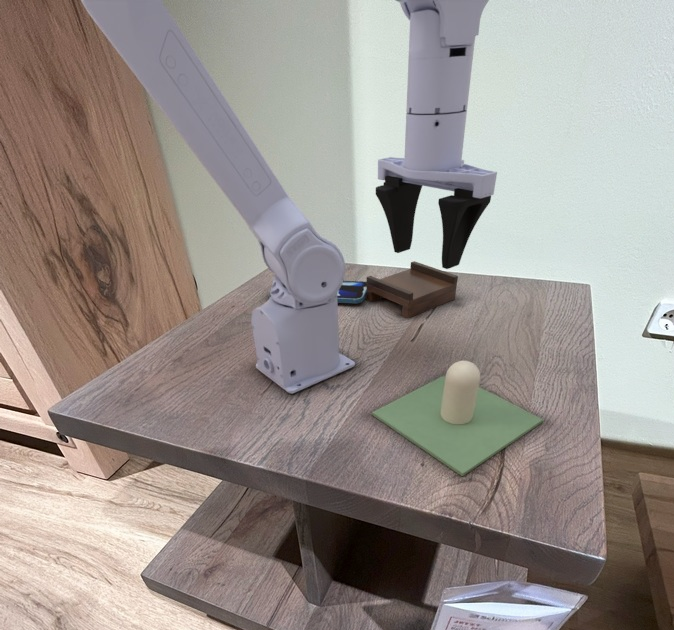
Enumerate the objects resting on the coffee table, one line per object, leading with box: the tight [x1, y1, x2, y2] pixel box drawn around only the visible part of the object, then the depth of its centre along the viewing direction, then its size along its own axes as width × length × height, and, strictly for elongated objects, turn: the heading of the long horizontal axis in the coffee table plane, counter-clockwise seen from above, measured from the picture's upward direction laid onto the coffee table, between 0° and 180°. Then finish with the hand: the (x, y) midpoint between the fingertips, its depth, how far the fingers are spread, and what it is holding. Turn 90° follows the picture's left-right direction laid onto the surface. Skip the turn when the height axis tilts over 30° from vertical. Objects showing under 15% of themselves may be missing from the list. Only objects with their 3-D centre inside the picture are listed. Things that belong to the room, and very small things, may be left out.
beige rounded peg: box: [441, 360, 481, 425], centre depth 44 cm, size 3×3×6 cm
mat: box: [371, 374, 544, 477], centre depth 46 cm, size 12×12×1 cm
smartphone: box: [268, 279, 367, 305], centre depth 71 cm, size 7×1×15 cm
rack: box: [365, 260, 459, 319], centre depth 68 cm, size 10×9×4 cm
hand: (425, 258), depth 52 cm, fingers open, 7 cm apart
